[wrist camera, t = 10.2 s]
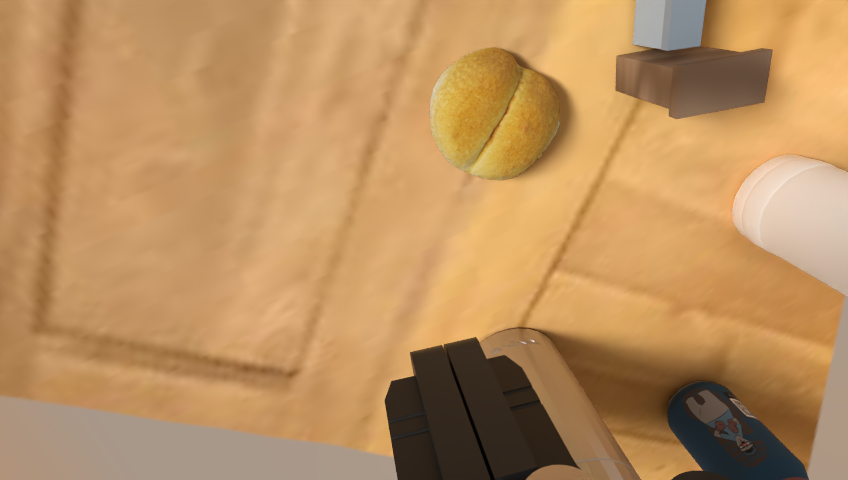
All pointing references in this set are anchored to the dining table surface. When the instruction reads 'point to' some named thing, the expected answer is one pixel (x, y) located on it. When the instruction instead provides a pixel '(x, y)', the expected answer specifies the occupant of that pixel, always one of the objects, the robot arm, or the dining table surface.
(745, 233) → the bottle
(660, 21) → the grey rectangular bar
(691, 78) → the stepped wooden slab
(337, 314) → the dining table surface
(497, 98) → the bread roll
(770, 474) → the soda can
